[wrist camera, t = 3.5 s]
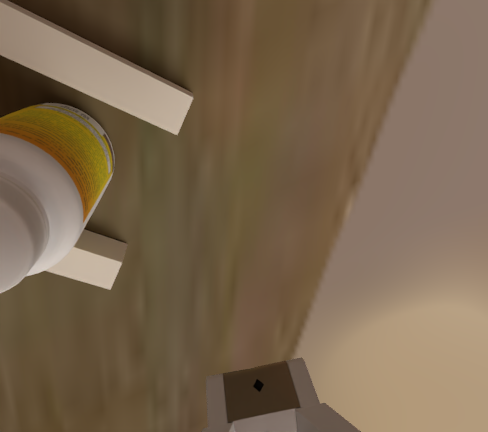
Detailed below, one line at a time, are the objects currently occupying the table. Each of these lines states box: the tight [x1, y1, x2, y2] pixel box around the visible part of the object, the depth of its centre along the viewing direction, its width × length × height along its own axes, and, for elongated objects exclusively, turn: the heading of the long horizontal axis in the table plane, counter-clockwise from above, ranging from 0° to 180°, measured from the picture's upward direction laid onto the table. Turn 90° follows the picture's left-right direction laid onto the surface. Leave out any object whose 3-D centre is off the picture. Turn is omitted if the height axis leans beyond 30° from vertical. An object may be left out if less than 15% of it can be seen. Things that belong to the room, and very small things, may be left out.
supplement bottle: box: [0, 103, 114, 293], centre depth 15 cm, size 6×6×10 cm
